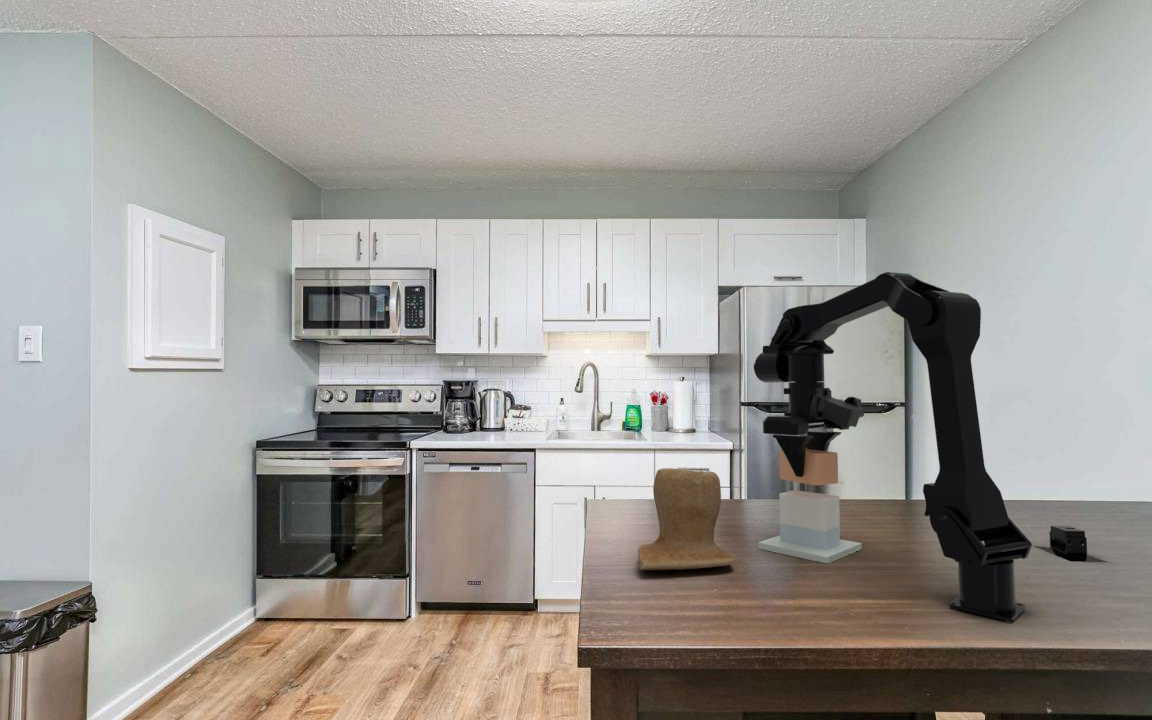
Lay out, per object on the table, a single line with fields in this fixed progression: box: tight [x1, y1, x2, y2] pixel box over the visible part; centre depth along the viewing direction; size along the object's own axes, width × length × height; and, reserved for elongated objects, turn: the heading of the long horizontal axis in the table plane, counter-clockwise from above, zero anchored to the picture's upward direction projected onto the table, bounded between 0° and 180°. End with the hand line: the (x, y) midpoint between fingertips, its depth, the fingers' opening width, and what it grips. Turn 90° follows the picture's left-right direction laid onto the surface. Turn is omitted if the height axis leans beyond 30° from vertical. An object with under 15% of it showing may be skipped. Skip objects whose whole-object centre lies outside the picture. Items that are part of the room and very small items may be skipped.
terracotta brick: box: [778, 448, 839, 486], centre depth 102 cm, size 5×8×5 cm, turn 24°
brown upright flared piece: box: [637, 467, 735, 571], centre depth 94 cm, size 15×12×15 cm
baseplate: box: [757, 522, 863, 564], centre depth 102 cm, size 12×12×4 cm
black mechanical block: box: [1031, 525, 1108, 563], centre depth 98 cm, size 12×7×5 cm, turn 174°
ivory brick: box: [778, 489, 841, 532], centre depth 102 cm, size 5×8×5 cm, turn 42°
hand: (808, 474), depth 102 cm, fingers closed on terracotta brick, 6 cm apart
